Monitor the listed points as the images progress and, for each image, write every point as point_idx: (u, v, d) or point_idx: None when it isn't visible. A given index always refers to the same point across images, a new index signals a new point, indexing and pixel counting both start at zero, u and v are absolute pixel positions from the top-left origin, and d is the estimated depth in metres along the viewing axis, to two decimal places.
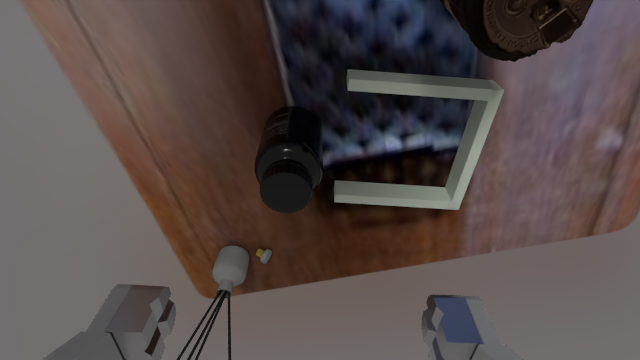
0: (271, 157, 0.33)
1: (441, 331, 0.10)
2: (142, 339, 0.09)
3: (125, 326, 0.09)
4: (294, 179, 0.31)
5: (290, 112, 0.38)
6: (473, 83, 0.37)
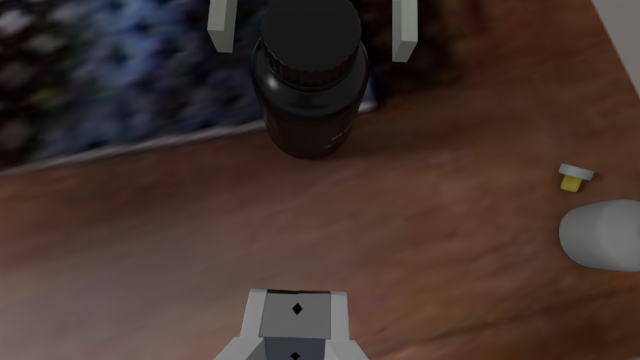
0: (269, 81, 0.19)
1: None
2: (292, 344, 0.09)
3: (275, 331, 0.10)
4: (276, 9, 0.17)
5: None
6: None
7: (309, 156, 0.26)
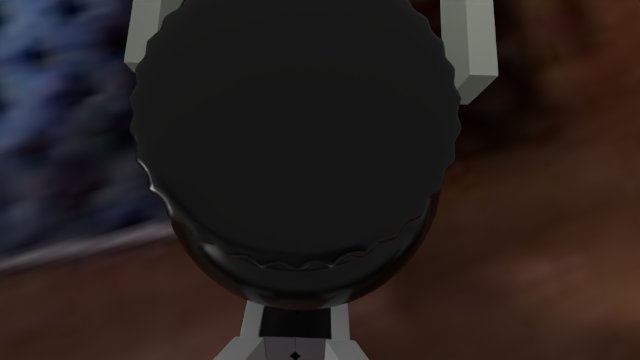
0: None
1: None
2: (292, 344, 0.09)
3: (275, 331, 0.10)
4: (184, 44, 0.05)
5: None
6: None
7: None
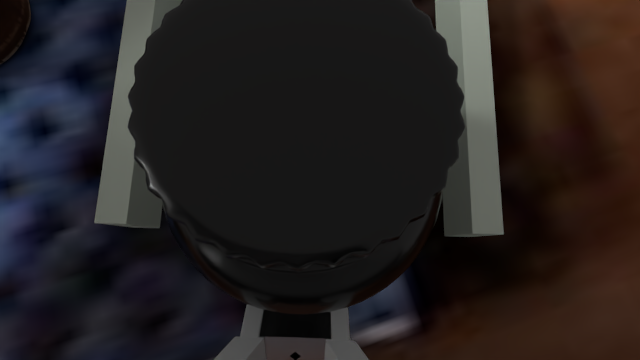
0: None
1: None
2: (292, 344, 0.09)
3: (275, 331, 0.10)
4: (184, 42, 0.05)
5: None
6: None
7: None
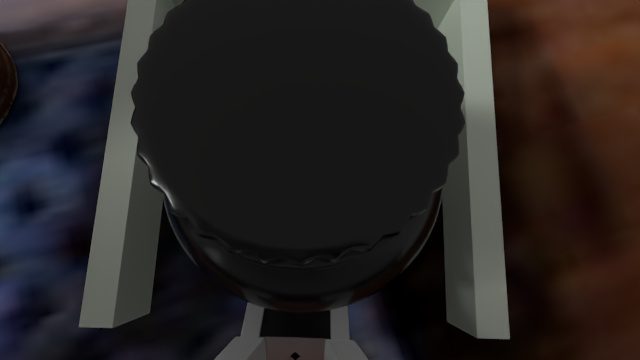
0: None
1: None
2: (293, 344, 0.09)
3: (275, 331, 0.09)
4: (186, 39, 0.05)
5: None
6: None
7: None
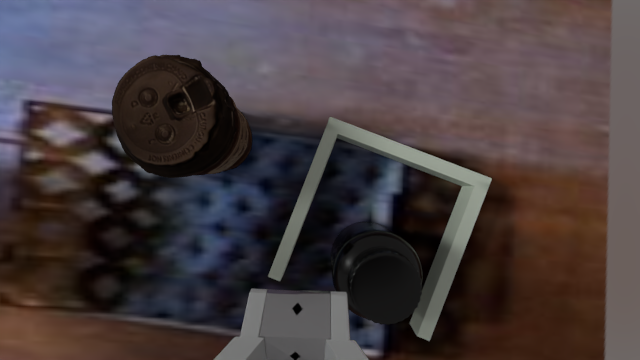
0: (345, 287, 0.26)
1: None
2: (293, 344, 0.09)
3: (275, 331, 0.10)
4: (366, 268, 0.23)
5: (332, 248, 0.33)
6: None
7: None
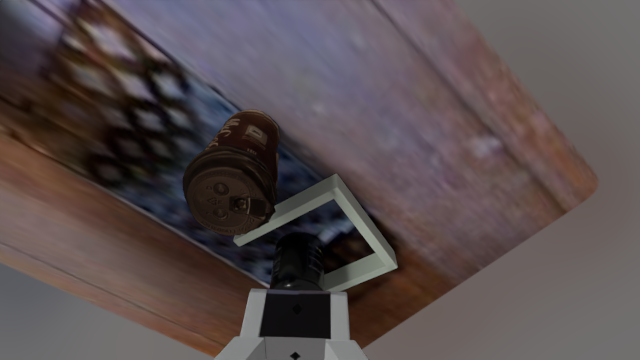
0: None
1: None
2: (293, 344, 0.09)
3: (275, 331, 0.10)
4: None
5: (282, 245, 0.47)
6: (318, 190, 0.43)
7: None
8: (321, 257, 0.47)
